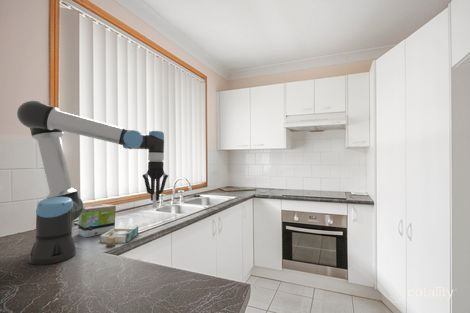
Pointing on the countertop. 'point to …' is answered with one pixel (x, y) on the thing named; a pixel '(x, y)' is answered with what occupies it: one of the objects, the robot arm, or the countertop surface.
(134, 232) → the tray
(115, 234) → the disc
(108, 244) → the stand
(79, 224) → the tea box
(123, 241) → the dock
